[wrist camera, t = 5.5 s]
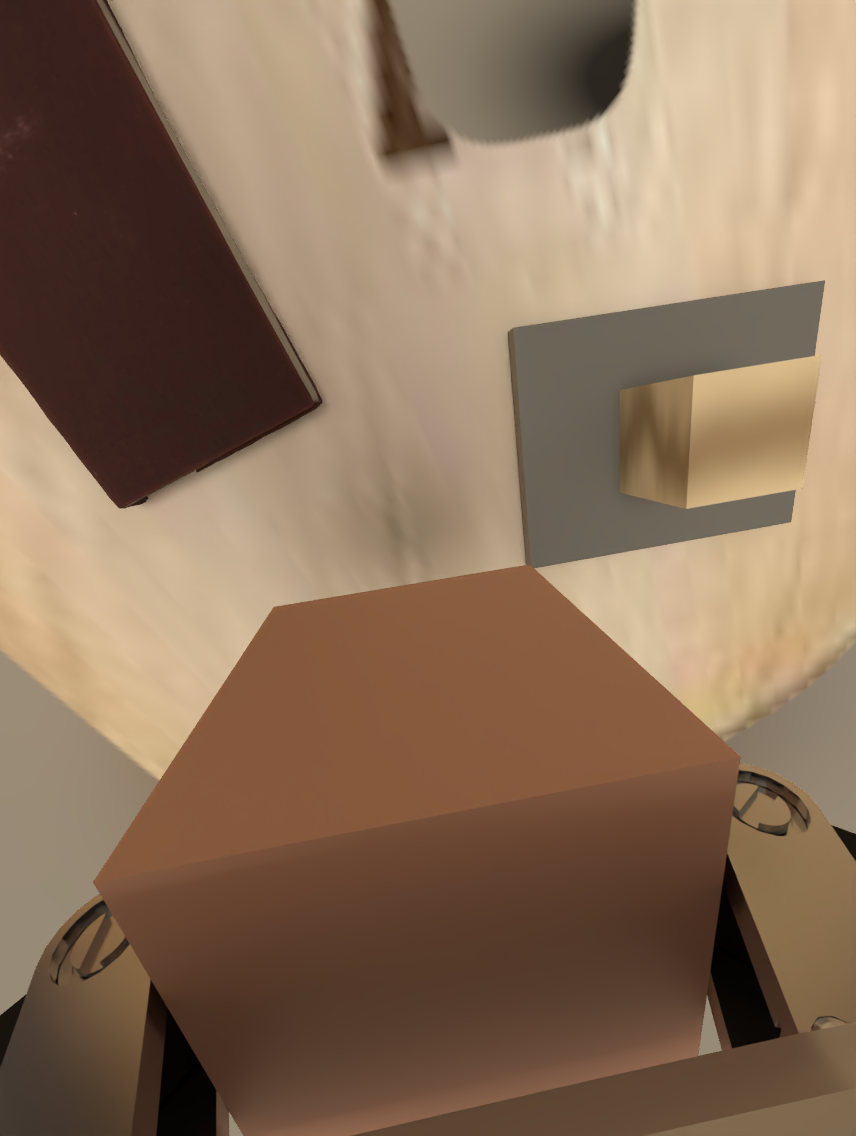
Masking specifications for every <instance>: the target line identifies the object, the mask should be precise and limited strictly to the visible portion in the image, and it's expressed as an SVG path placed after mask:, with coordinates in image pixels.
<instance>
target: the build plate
mask: <svg viewBox="0 0 856 1136" xmlns="http://www.w3.org/2000/svg"><path fill="white" fill-rule="evenodd" d="M824 284H825V281H818V282H811V283H805V284H798V285H792V286H785V287H779V288H772V289H766V290H759V291H753V292H746V293H740V294H733V295H726V296H720V297H713V298H707V299H700V300H694V301H687V302H681V303H674V304H668V305H661V306H655V307H648V308H642V309H635V310H628V311H622V312H615V313H609V314H602V315H596V316H589V317H583V318H576V319H570V320H563V321H557V322H550V323H543V324H537V325H530V326H524V327H517V328H513V329H512V330H510V331H509V332H508V338H509V351H510V364H511V377H512V389H513V402H514V415H515V427H516V440H517V453H518V465H519V478H520V491H521V503H522V516H523V529H524V542H525V554H526V564H527V565H531V566H532V567H533V568H538V567H544V566H549V565H555V564H560V563H566V562H571V561H577V560H583V559H588V558H594V557H599V556H605V555H610V554H616V553H622V552H627V551H633V550H638V549H644V548H649V547H655V546H661V545H666V544H672V543H677V542H683V541H688V540H694V539H700V538H705V537H711V536H716V535H722V534H727V533H733V532H739V531H744V530H750V529H755V528H761V527H766V526H772V525H778V524H783V523H789V522H791V519H792V512H793V505H794V498H795V491H796V490H791V491H786V492H780V493H774V494H768V495H763V496H757V497H751V498H746V499H740V500H734V501H729V502H723V503H717V504H712V505H706V506H700V507H695V508H689V509H685V508H680V507H676V506H672V505H668V504H664V503H660V502H656V501H652V500H648V499H643V498H639V497H635V496H631V495H627V494H623V493H620V390H623V389H628V388H633V387H638V386H643V385H648V384H653V383H658V382H663V381H668V380H673V379H678V378H683V377H688V376H693V375H699V374H706V373H712V372H718V371H724V370H730V369H737V368H743V367H749V366H755V365H761V364H768V363H774V362H780V361H786V360H792V359H799V358H805V357H811V356H814V355H815V348H816V341H817V334H818V327H819V320H820V312H821V305H822V298H823V291H824Z"/></svg>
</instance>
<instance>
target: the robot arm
mask: <svg viewBox="0 0 856 1136" xmlns="http://www.w3.org/2000/svg"><path fill="white" fill-rule="evenodd" d="M707 996H708V1000H709V1004H710V1007H711V1011H712V1015H713V1019H714V1022H715V1026H716V1030H717V1033H718V1037H719V1041H720V1044H721V1049H722V1051H720V1052H715V1053H710V1054H705V1055H701V1056H697V1057H692V1058H688V1059H683V1060H679V1061H674V1062H670V1063H665V1064H661V1065H656V1066H652V1067H647V1068H643V1069H639V1070H634V1071H630V1072H625V1073H621V1074H616V1075H612V1076H607V1077H603V1078H598V1079H594V1080H590V1081H585V1082H581V1083H577V1084H572V1085H568V1086H564V1087H559V1088H555V1089H550V1090H546V1091H542V1092H537V1093H533V1094H529V1095H524V1096H520V1097H516V1098H511V1099H507V1100H503V1101H498V1102H494V1103H490V1104H485V1105H481V1106H477V1107H472V1108H468V1109H464V1110H459V1111H455V1112H451V1113H446V1114H442V1115H438V1116H433V1117H429V1118H425V1119H420V1120H416V1121H412V1122H408V1123H403V1124H399V1125H395V1126H390V1127H386V1128H382V1129H377V1130H373V1131H369V1132H364V1133H360V1134H356V1135H351V1136H856V834H854V833H851V832H848V831H846V830H843V829H840V828H838V827H835V826H832V825H831V824H830V823H829V821H828V820H827V818H826V817H825V815H824V814H823V812H822V811H821V809H820V808H819V807H818V805H817V804H816V803H815V802H814V801H813V800H812V799H811V798H810V796H809V795H808V794H807V793H806V792H804V791H803V790H802V789H800V788H799V787H798V786H796V785H795V784H794V783H792V782H791V781H789V780H787V779H785V778H783V777H782V776H780V775H778V774H776V773H774V772H771V771H768V770H766V769H763V768H760V767H757V766H753V765H748V764H742V763H740V765H739V772H738V779H737V786H736V793H735V800H734V807H733V814H732V821H731V828H730V835H729V842H728V849H727V856H726V863H725V870H724V877H723V884H722V891H721V898H720V905H719V912H718V919H717V926H716V933H715V940H714V947H713V955H712V962H711V969H710V976H709V983H708V990H707ZM0 1136H229V1110H228V1109H227V1107H226V1105H225V1104H224V1102H223V1100H222V1099H221V1097H220V1095H219V1093H218V1092H217V1090H216V1088H215V1087H214V1085H213V1083H212V1082H211V1080H210V1078H209V1077H208V1075H207V1073H206V1072H205V1070H204V1068H203V1067H202V1065H201V1063H200V1061H199V1060H198V1058H197V1056H196V1055H195V1053H194V1051H193V1050H192V1048H191V1046H190V1045H189V1043H188V1041H187V1040H186V1038H185V1036H184V1035H183V1033H182V1031H181V1029H180V1028H179V1026H178V1024H177V1023H176V1021H175V1019H174V1018H173V1016H172V1014H171V1013H170V1011H169V1009H168V1008H167V1006H166V1004H165V1003H164V1001H163V999H162V997H161V996H160V994H159V992H158V991H157V989H156V987H155V986H154V984H153V982H152V981H151V979H150V977H149V976H148V974H147V972H146V971H145V969H144V967H143V965H142V964H141V962H140V960H139V959H138V957H137V955H136V954H135V952H134V950H133V949H132V947H131V945H130V944H129V942H128V940H127V938H126V937H125V935H124V933H123V932H122V930H121V928H120V927H119V925H118V923H117V922H116V920H115V918H114V917H113V915H112V913H111V912H110V910H109V908H108V906H107V905H106V903H105V901H104V900H103V898H102V896H101V895H100V894H99V895H97V896H95V897H94V898H93V899H91V900H90V901H89V902H88V903H86V904H85V905H84V906H82V907H81V908H80V909H79V910H77V911H76V912H75V914H73V915H72V916H71V917H70V918H69V920H68V921H67V922H66V923H65V924H64V925H63V926H62V927H61V928H60V929H59V930H58V931H57V933H56V934H55V936H54V937H53V938H52V940H51V941H50V942H49V944H48V945H47V946H46V948H45V950H44V952H43V954H42V956H41V958H40V960H39V962H38V964H37V966H36V969H35V971H34V974H33V977H32V980H31V983H30V986H29V988H28V991H27V994H26V995H25V996H24V997H22V998H21V999H20V1000H19V1001H18V1002H16V1003H15V1004H14V1005H13V1006H11V1007H10V1008H9V1009H8V1010H6V1011H5V1012H4V1013H3V1014H1V1015H0Z"/></svg>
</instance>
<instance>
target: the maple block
mask: <svg viewBox="0 0 856 1136" xmlns="http://www.w3.org/2000/svg"><path fill="white" fill-rule="evenodd" d="M821 357H822V355H817V356H811V357H805V358H799V359H792V360H786V361H780V362H774V363H768V364H761V365H755V366H749V367H743V368H737V369H730V370H724V371H718V372H712V373H706V374H699V375H693V376H688V377H683V378H678V379H673V380H668V381H663V382H658V383H653V384H648V385H643V386H638V387H633V388H628V389H623V390H620V493H623V494H627V495H631V496H635V497H639V498H643V499H648V500H652V501H656V502H660V503H664V504H668V505H672V506H676V507H680V508H685V509H689V508H695V507H700V506H706V505H712V504H717V503H723V502H729V501H734V500H740V499H746V498H751V497H757V496H763V495H768V494H774V493H780V492H786V491H791V490H797V489H802V487H803V480H804V473H805V466H806V460H807V453H808V446H809V439H810V432H811V425H812V418H813V412H814V405H815V398H816V391H817V384H818V377H819V370H820V363H821Z"/></svg>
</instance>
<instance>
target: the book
mask: <svg viewBox="0 0 856 1136" xmlns="http://www.w3.org/2000/svg"><path fill="white" fill-rule="evenodd" d="M0 355H1V356H2V358H3V359H4V360H5V362H6V363H7V364H8V365H9V367H10V368H11V369H12V370H13V371H14V373H15V374H16V375H17V376H18V378H19V379H20V380H21V381H22V383H23V384H24V385H25V387H26V388H27V389H28V391H29V392H30V394H31V395H32V396H33V398H34V399H35V400H36V402H37V403H38V405H39V406H40V407H41V409H42V410H43V412H44V413H45V415H46V416H47V418H48V419H49V420H50V421H51V423H52V424H53V425H54V426H55V428H56V429H57V430H58V431H59V432H60V434H61V435H62V436H63V437H64V439H65V440H66V441H67V443H68V444H69V445H70V447H71V448H72V450H73V451H74V452H75V454H76V455H77V456H78V458H79V459H80V460H81V462H82V463H83V464H84V465H85V467H86V468H87V469H88V470H89V472H90V473H91V474H92V475H93V477H94V478H95V479H96V480H97V482H98V483H99V484H100V486H101V487H102V488H103V490H104V491H105V492H106V494H107V495H108V496H109V498H110V499H111V500H112V501H113V502H114V503H115V504H116V505H117V507H118V508H127V507H130V506H135V505H140V504H142V503H144V502H146V500H147V499H148V497H147V496H148V495H150V494H152V493H153V492H155V491H157V490H159V489H161V488H162V487H164V486H166V485H168V484H170V483H172V482H174V481H176V480H178V479H179V478H181V477H183V476H185V475H187V474H189V473H191V472H193V471H195V470H196V471H197V472H199V471H201V470H203V469H204V468H206V467H208V466H210V465H212V464H214V463H215V462H217V461H220V460H222V459H224V458H226V457H228V456H230V455H232V454H233V453H235V452H237V451H239V450H241V449H243V448H245V447H247V446H249V445H251V444H252V443H254V442H256V441H257V440H259V439H261V438H262V437H264V436H266V435H268V434H270V433H272V432H274V431H276V430H279V429H281V428H282V427H284V426H286V425H288V424H290V423H291V422H293V421H295V420H297V419H299V418H300V417H302V416H304V415H306V414H307V413H309V412H311V411H313V410H314V409H316V408H317V407H318V406H319V405H320V404H321V403H322V399H321V397H320V395H319V393H318V391H317V389H316V387H315V385H314V383H313V381H312V379H311V377H310V376H309V374H308V372H307V371H306V369H305V367H304V365H303V364H302V362H301V360H300V358H299V357H298V355H297V353H296V351H295V349H294V347H293V345H292V344H291V342H290V340H289V338H288V336H287V334H286V332H285V331H284V329H283V327H282V325H281V323H280V322H279V320H278V318H277V317H276V315H275V314H274V312H273V310H272V308H271V306H270V305H269V303H268V301H267V299H266V297H265V296H264V294H263V292H262V291H261V289H260V287H259V285H258V284H257V282H256V280H255V278H254V277H253V275H252V273H251V271H250V270H249V268H248V266H247V264H246V263H245V261H244V259H243V257H242V255H241V254H240V252H239V250H238V248H237V246H236V244H235V243H234V241H233V239H232V237H231V235H230V234H229V232H228V230H227V228H226V226H225V225H224V223H223V221H222V219H221V217H220V216H219V214H218V212H217V210H216V208H215V207H214V205H213V203H212V201H211V199H210V197H209V195H208V194H207V192H206V190H205V188H204V186H203V184H202V182H201V181H200V179H199V177H198V176H197V174H196V172H195V170H194V169H193V167H192V165H191V163H190V162H189V160H188V158H187V156H186V154H185V152H184V150H183V149H182V147H181V145H180V143H179V141H178V139H177V138H176V136H175V134H174V132H173V130H172V128H171V127H170V125H169V123H168V121H167V119H166V117H165V116H164V114H163V112H162V110H161V108H160V106H159V104H158V103H157V101H156V99H155V97H154V95H153V93H152V91H151V89H150V87H149V85H148V83H147V81H146V79H145V77H144V75H143V73H142V71H141V69H140V67H139V65H138V63H137V61H136V59H135V57H134V55H133V53H132V51H131V48H130V46H129V44H128V42H127V40H126V38H125V36H124V34H123V32H122V30H121V27H120V26H119V24H118V22H117V20H116V18H115V16H114V14H113V13H112V11H111V9H110V7H109V5H108V3H107V1H106V0H0Z"/></svg>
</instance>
